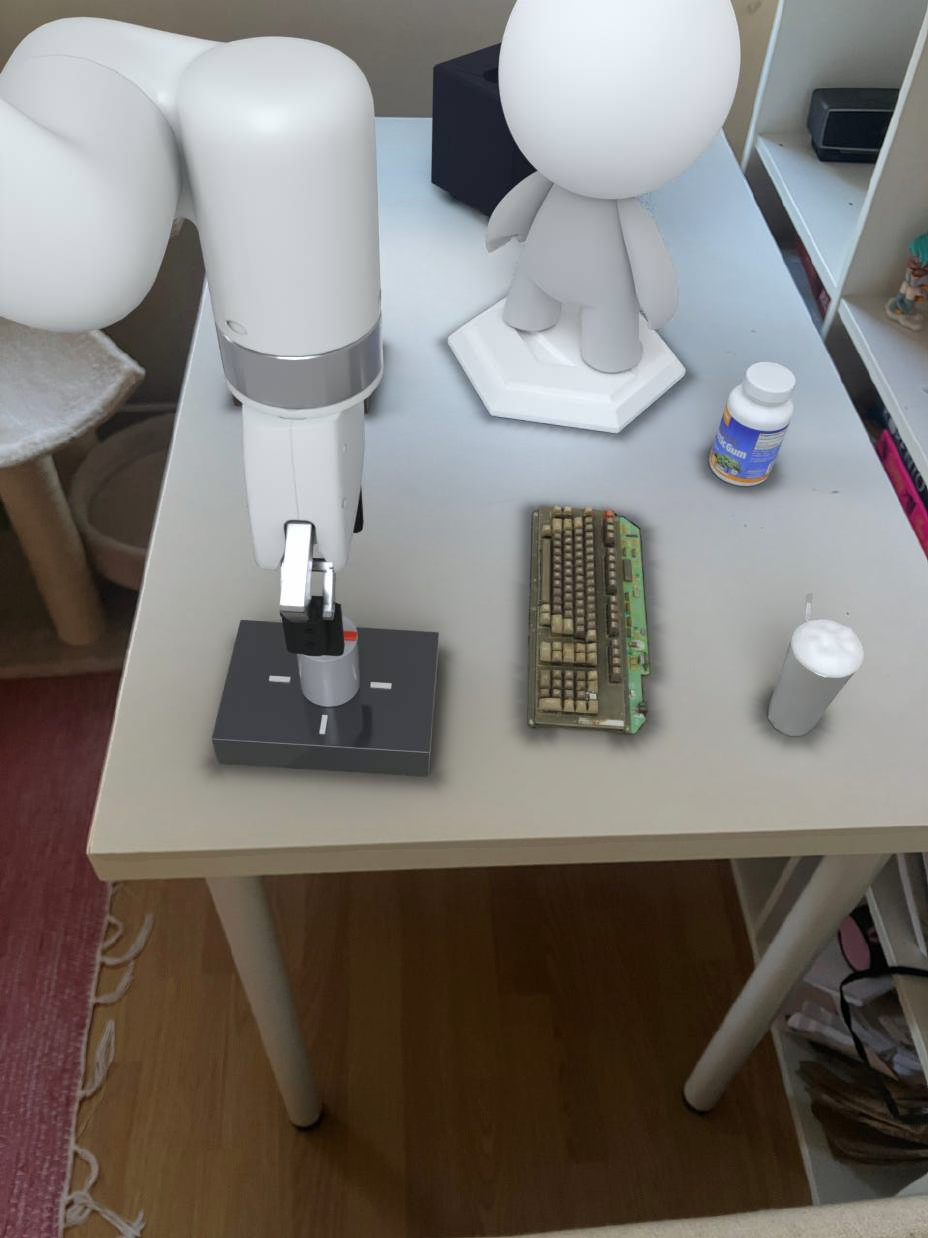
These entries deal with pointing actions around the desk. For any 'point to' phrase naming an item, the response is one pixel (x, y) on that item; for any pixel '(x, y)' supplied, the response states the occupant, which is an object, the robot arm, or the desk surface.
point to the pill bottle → (753, 425)
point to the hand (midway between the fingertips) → (327, 586)
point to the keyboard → (586, 621)
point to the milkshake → (813, 673)
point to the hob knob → (332, 672)
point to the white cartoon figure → (595, 202)
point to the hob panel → (329, 736)
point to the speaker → (473, 132)
